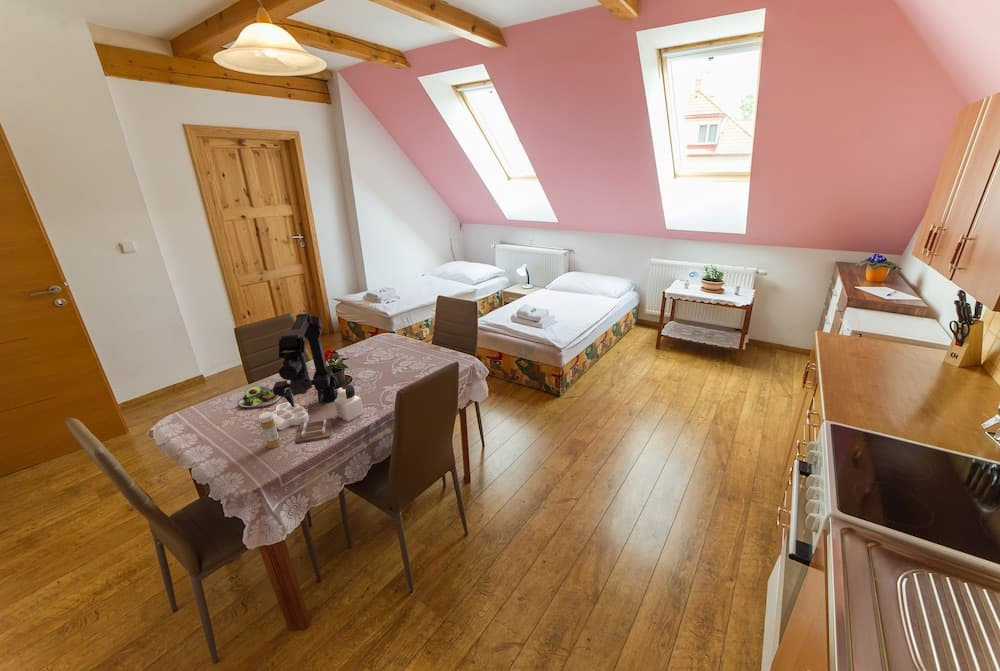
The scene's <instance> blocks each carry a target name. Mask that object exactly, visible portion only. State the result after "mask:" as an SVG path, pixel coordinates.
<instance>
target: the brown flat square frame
mask: <svg viewBox="0 0 1000 671" xmlns="http://www.w3.org/2000/svg"><path fill="white" fill-rule="evenodd" d="M333 421H334V419H333V417H330V418H322V419H318V420H317V419H316V420H311V421H307V422H304V423H301V425H299V429H298V433H297V436H296V439H295V444H300V443H302V444H303V443H307V442H312V441H318V440H324V439H330V438H331V434H332V433H331V432H332V426H333Z"/></svg>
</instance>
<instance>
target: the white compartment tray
mask: <svg viewBox="0 0 1000 671" xmlns="http://www.w3.org/2000/svg"><path fill="white" fill-rule="evenodd" d="M308 411H309V409H307V408H305V407H304V406H301V404H299V403H294V407H292V406H291V404H290V403H289V402H288V401H287V402H283V403H279V404H278V405H276V407H275V410H274V411H271V413H272V414H273V418H274V423H275V426H276V429H277V430H279V431H282V430H285V429H287V428H288V427H290V426H300V425H301V423H304V422H309V420H310V417H309V414H308Z"/></svg>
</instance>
